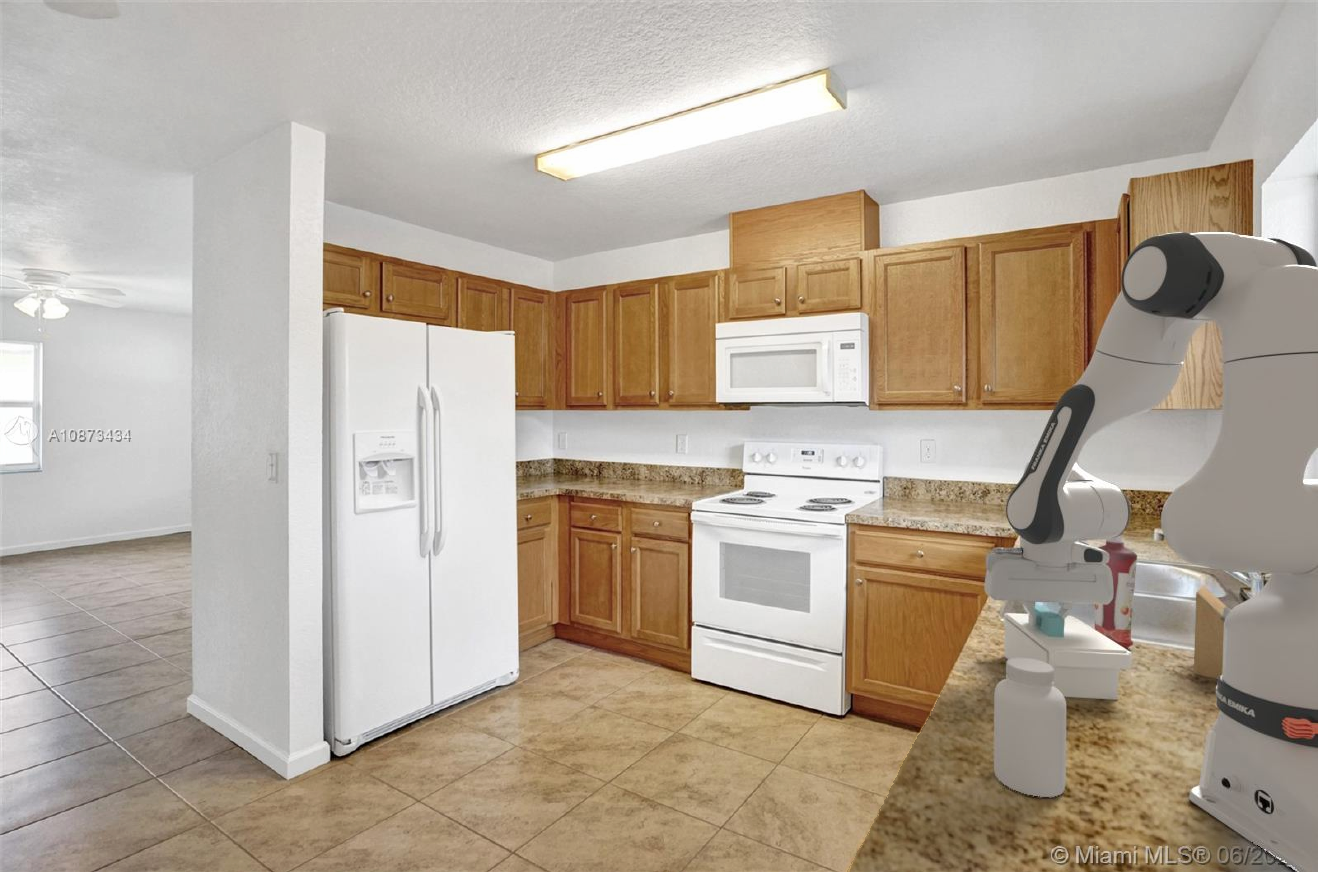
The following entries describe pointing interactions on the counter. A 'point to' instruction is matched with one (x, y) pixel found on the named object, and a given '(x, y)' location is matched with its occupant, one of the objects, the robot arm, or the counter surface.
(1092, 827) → the counter surface
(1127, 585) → the liquor
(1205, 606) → the sandwich container
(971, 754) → the counter surface
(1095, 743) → the counter surface
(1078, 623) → the lid
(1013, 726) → the pill bottle
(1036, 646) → the box
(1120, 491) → the robot arm
